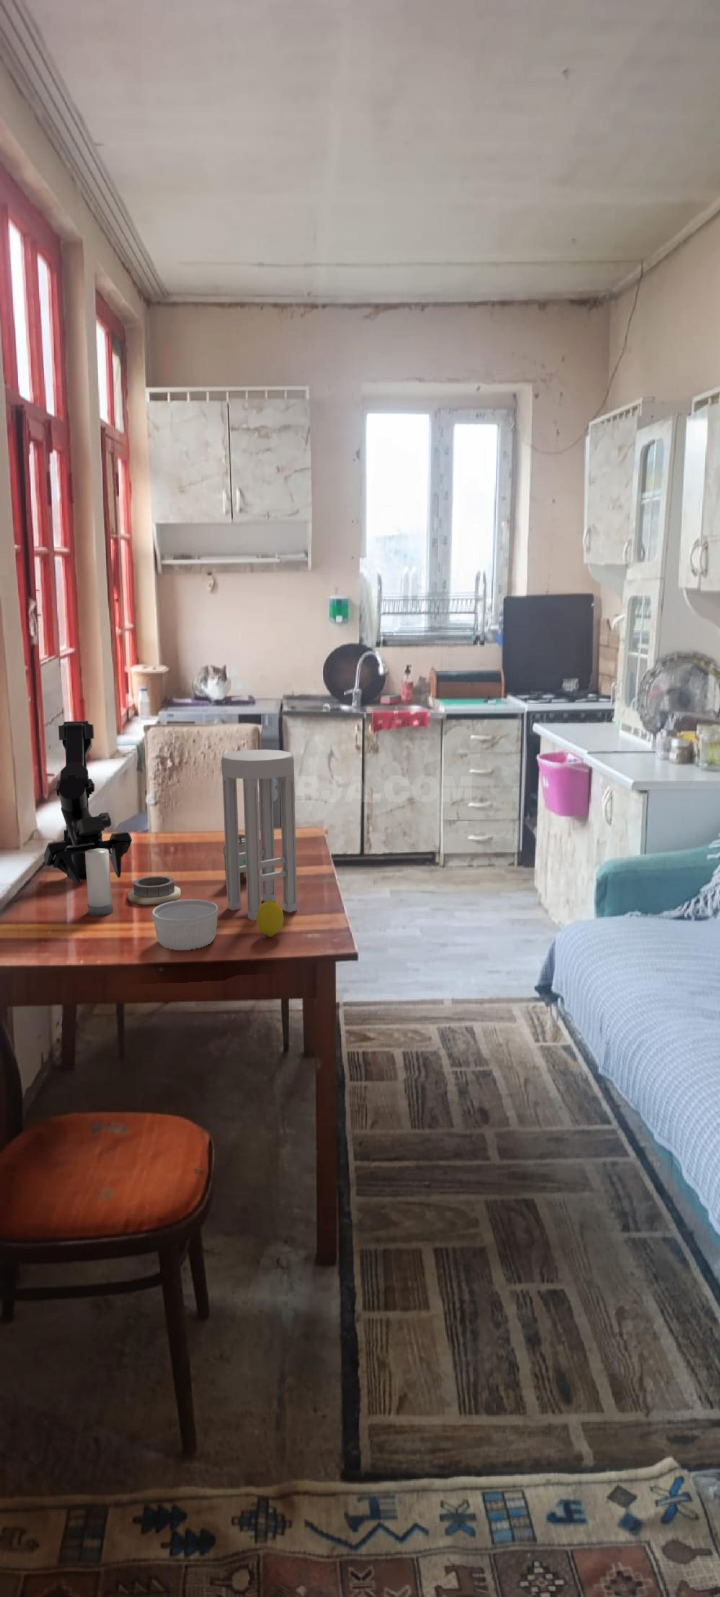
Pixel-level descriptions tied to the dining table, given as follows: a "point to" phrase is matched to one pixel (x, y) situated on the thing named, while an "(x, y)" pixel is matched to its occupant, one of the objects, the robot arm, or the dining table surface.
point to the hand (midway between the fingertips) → (99, 880)
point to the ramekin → (185, 923)
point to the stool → (250, 769)
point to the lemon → (269, 918)
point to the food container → (241, 861)
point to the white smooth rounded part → (98, 882)
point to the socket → (154, 890)
